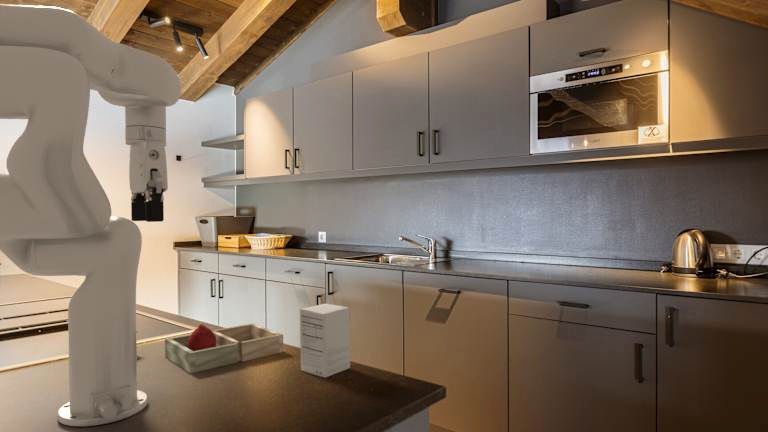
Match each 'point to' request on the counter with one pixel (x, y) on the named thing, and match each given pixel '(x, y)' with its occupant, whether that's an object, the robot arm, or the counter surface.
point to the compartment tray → (225, 347)
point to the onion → (201, 339)
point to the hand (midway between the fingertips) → (147, 221)
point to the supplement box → (325, 339)
